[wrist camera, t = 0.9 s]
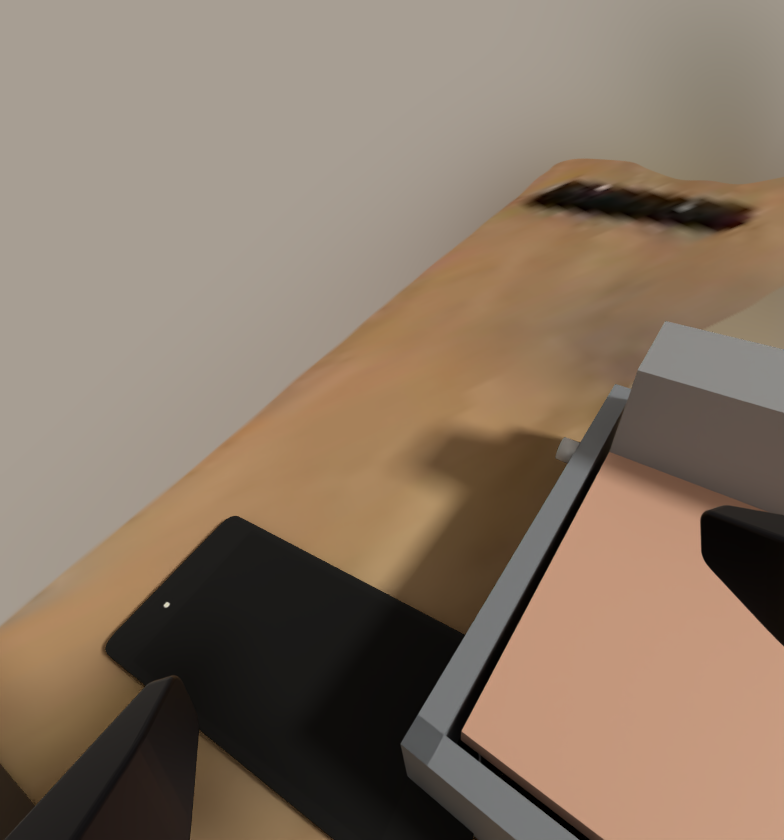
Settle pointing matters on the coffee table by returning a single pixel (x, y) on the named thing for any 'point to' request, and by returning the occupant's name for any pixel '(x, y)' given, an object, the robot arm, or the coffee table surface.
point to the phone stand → (11, 804)
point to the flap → (655, 620)
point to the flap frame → (483, 647)
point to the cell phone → (300, 678)
